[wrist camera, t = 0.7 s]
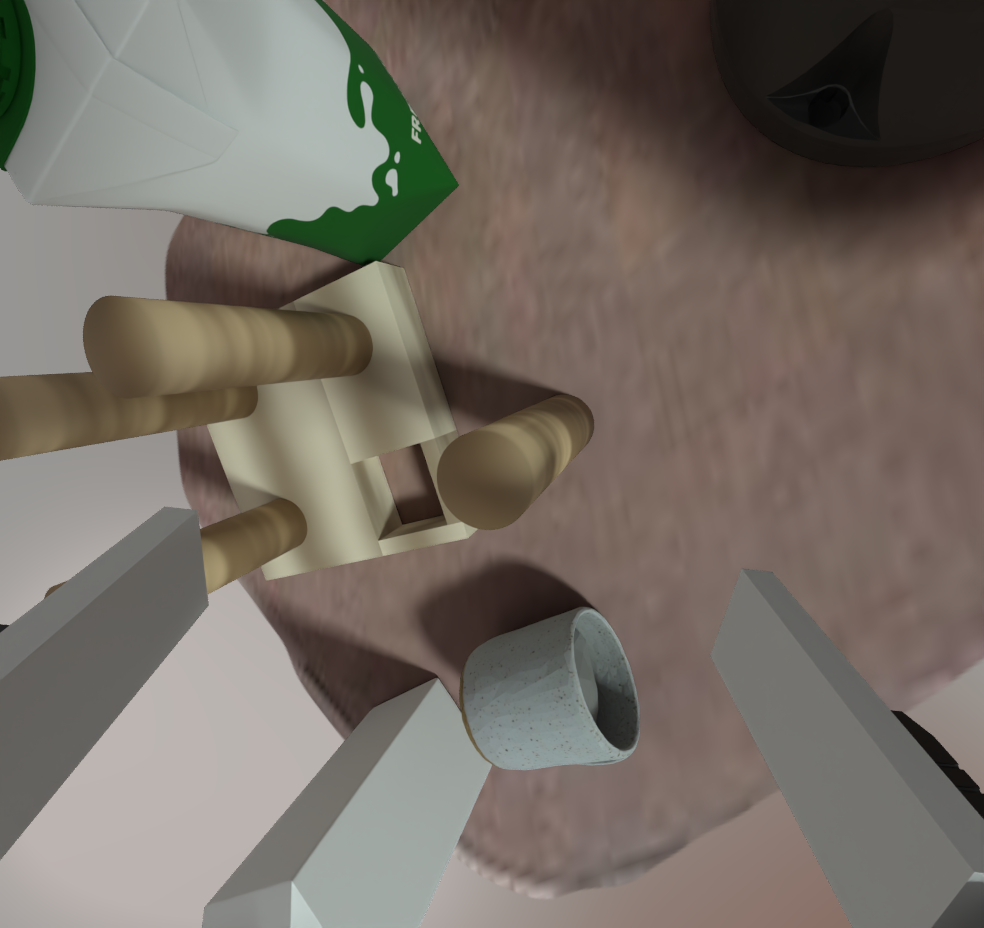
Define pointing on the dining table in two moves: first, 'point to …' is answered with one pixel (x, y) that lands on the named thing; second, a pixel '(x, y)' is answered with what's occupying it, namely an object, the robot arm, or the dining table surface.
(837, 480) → the dining table surface
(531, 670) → the ceramic mug
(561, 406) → the loose leg
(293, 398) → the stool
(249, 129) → the soya milk
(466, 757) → the milk carton
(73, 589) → the robot arm
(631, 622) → the dining table surface
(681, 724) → the dining table surface
